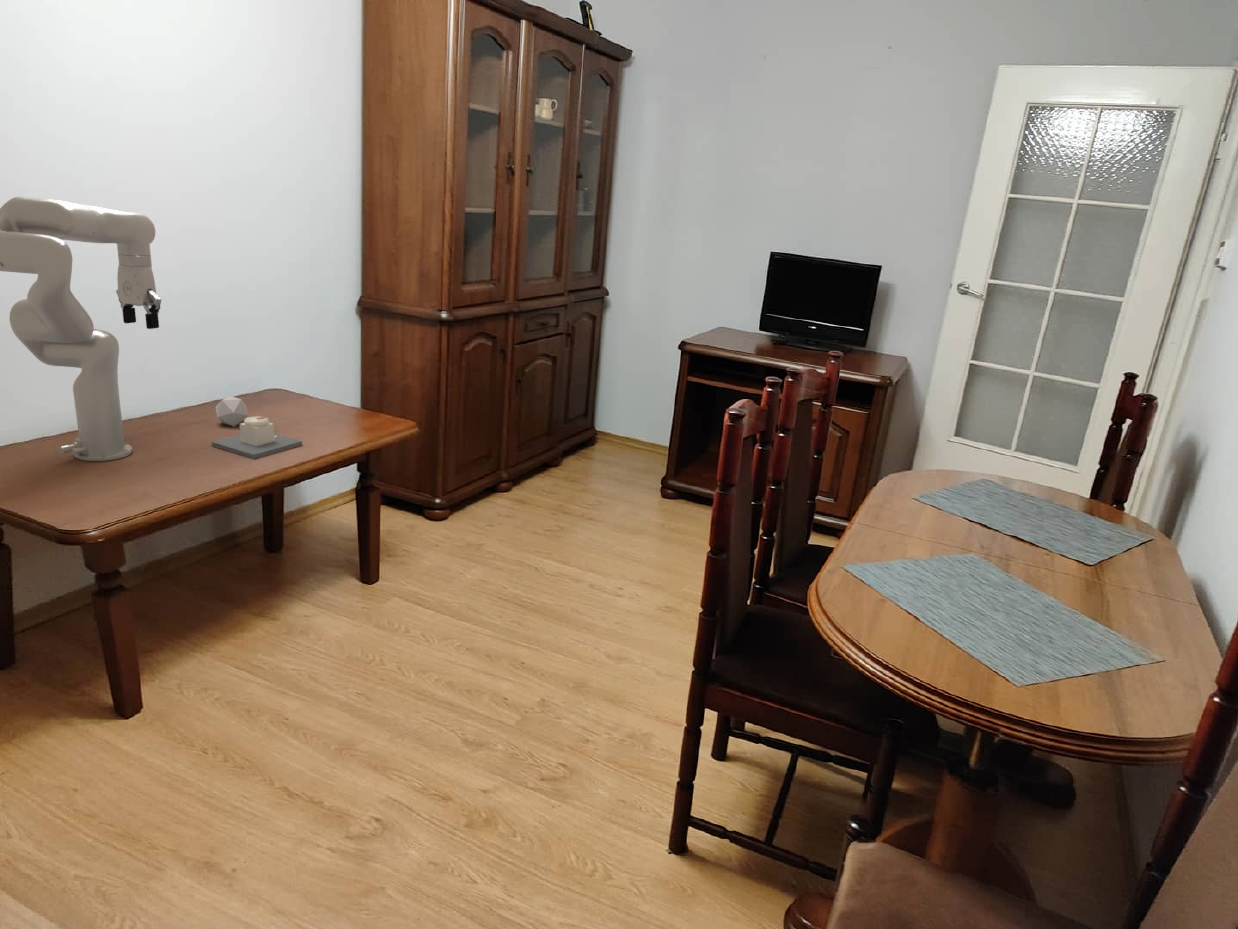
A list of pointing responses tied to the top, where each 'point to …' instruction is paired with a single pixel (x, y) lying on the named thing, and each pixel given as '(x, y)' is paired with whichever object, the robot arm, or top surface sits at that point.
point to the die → (231, 411)
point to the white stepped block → (256, 431)
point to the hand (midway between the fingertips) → (141, 325)
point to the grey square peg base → (253, 451)
